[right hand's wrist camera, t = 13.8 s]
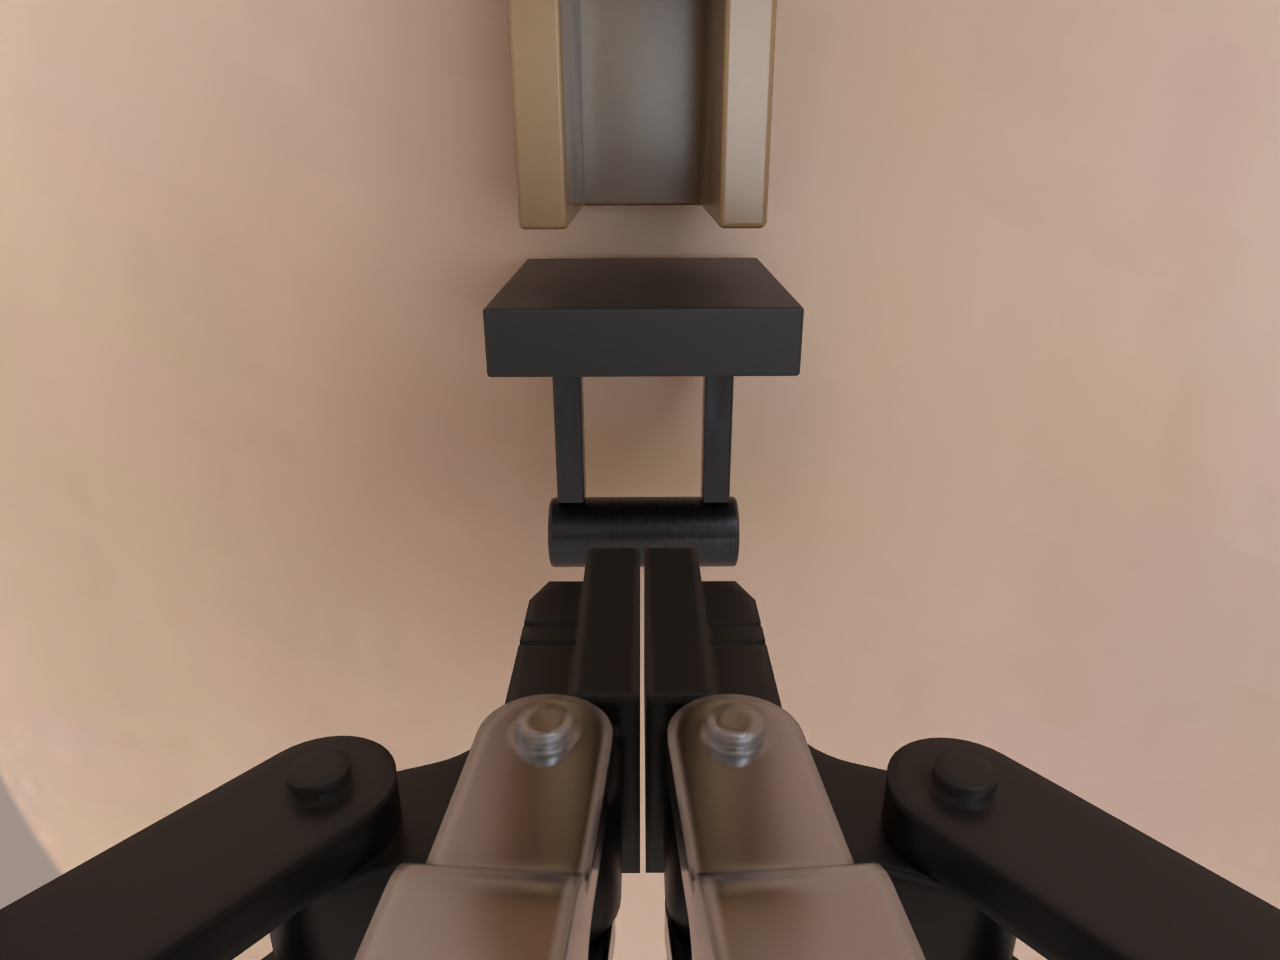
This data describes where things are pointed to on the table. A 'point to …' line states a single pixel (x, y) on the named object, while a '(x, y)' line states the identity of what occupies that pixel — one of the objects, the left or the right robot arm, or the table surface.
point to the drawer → (655, 287)
